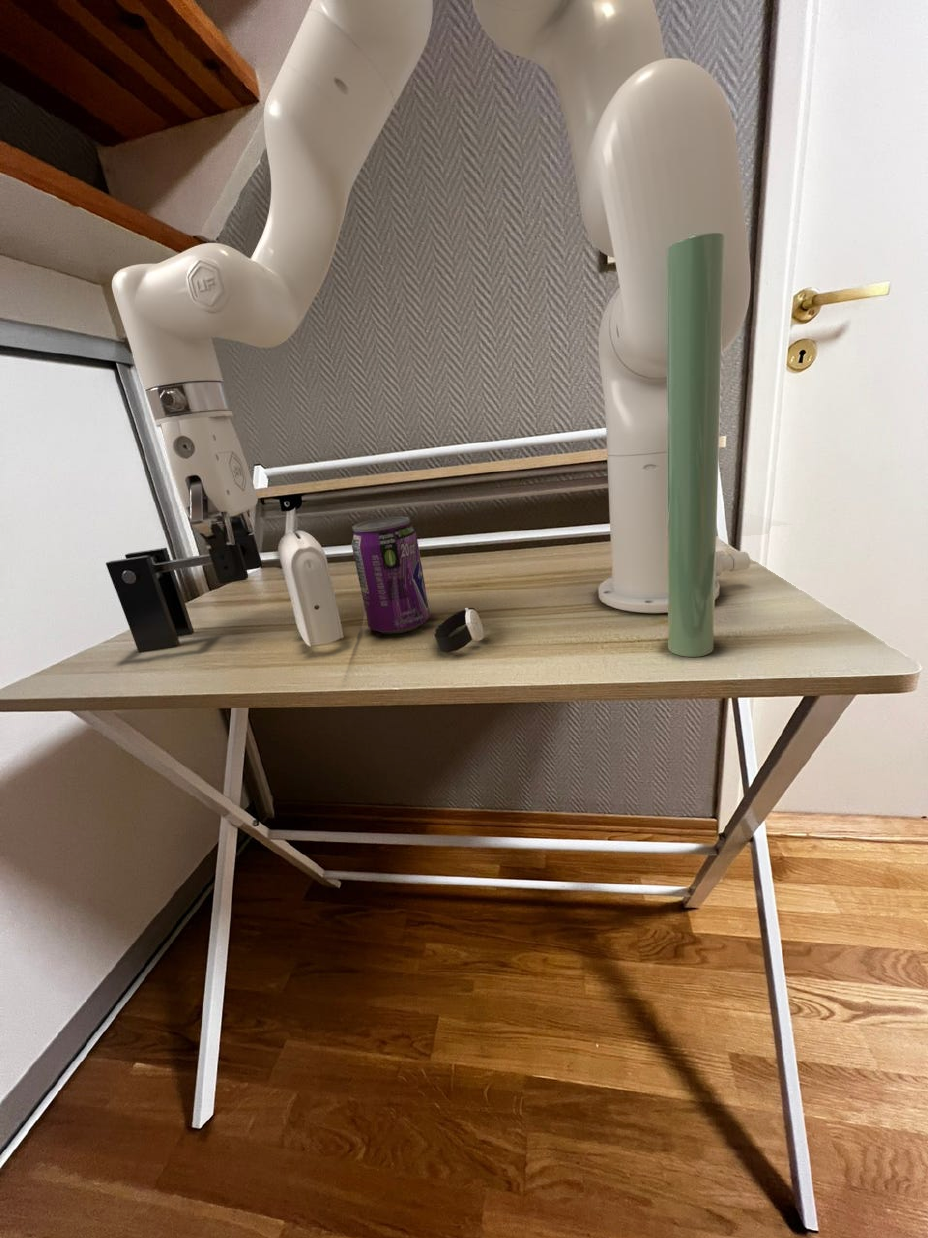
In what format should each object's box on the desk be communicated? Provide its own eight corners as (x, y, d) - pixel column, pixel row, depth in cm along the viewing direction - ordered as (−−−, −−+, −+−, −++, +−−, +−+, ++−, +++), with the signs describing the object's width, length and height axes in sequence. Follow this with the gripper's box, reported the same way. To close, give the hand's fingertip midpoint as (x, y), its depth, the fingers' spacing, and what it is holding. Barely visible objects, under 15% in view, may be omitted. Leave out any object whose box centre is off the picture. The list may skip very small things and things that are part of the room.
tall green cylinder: (700, 637, 48) (707, 247, 38) (721, 653, 45) (735, 229, 34) (661, 643, 48) (657, 253, 38) (679, 659, 45) (680, 236, 34)
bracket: (217, 635, 67) (188, 543, 63) (197, 654, 62) (164, 555, 58) (145, 646, 67) (111, 554, 63) (119, 666, 61) (80, 567, 57)
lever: (248, 559, 64) (242, 539, 63) (236, 568, 59) (229, 547, 58) (143, 577, 63) (136, 557, 63) (123, 587, 59) (115, 567, 58)
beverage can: (421, 636, 57) (402, 525, 53) (360, 639, 59) (336, 532, 55) (437, 613, 64) (421, 512, 60) (382, 616, 66) (362, 519, 62)
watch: (475, 657, 51) (470, 621, 49) (427, 658, 52) (421, 623, 50) (489, 626, 58) (485, 594, 56) (447, 628, 59) (442, 597, 57)
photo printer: (350, 647, 57) (324, 533, 53) (310, 659, 56) (280, 542, 51) (331, 622, 66) (308, 522, 62) (296, 631, 65) (270, 530, 60)
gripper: (194, 396, 48) (251, 590, 54) (252, 405, 64) (291, 553, 70) (110, 409, 48) (177, 602, 54) (189, 414, 64) (234, 563, 70)
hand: (241, 573), depth 62 cm, fingers closed on lever, 4 cm apart
